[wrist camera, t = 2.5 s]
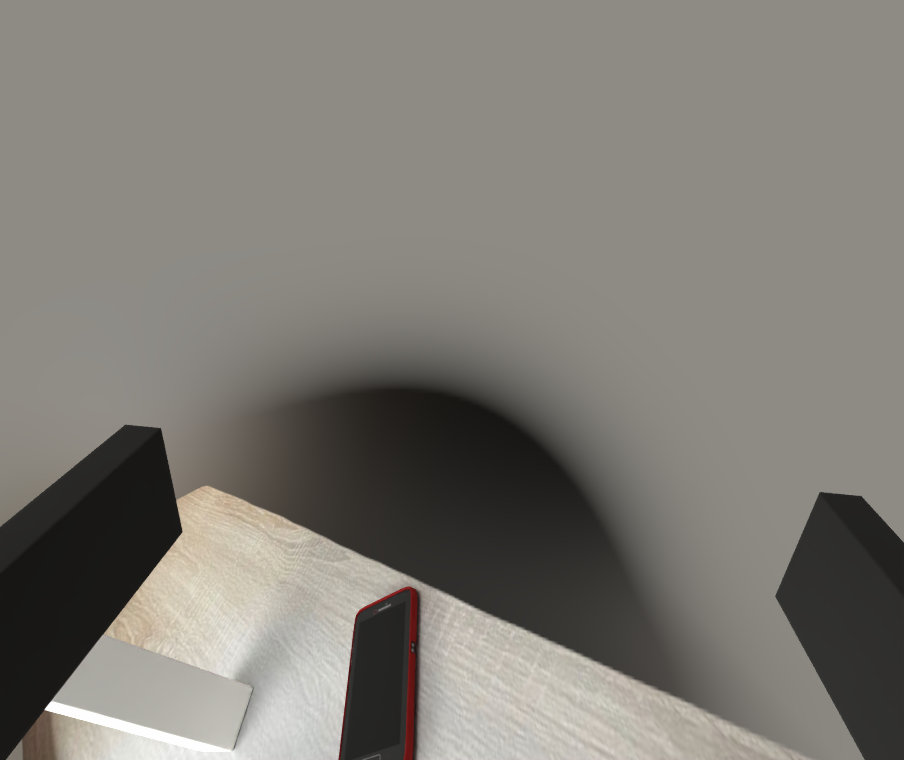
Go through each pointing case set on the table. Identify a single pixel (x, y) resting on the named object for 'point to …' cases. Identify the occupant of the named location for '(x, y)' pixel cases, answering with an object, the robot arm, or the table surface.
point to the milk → (154, 697)
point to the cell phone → (382, 681)
